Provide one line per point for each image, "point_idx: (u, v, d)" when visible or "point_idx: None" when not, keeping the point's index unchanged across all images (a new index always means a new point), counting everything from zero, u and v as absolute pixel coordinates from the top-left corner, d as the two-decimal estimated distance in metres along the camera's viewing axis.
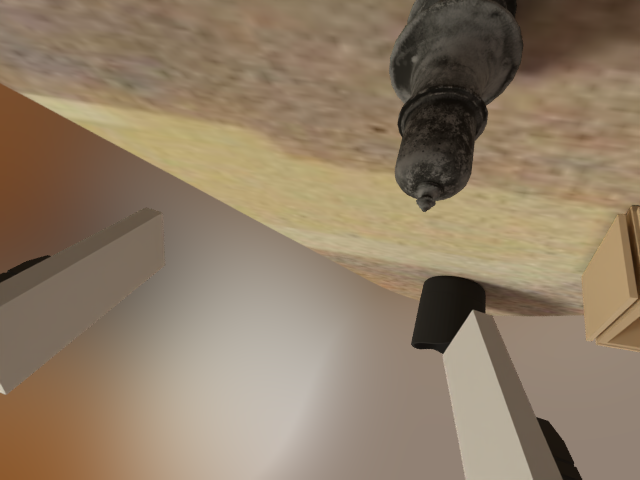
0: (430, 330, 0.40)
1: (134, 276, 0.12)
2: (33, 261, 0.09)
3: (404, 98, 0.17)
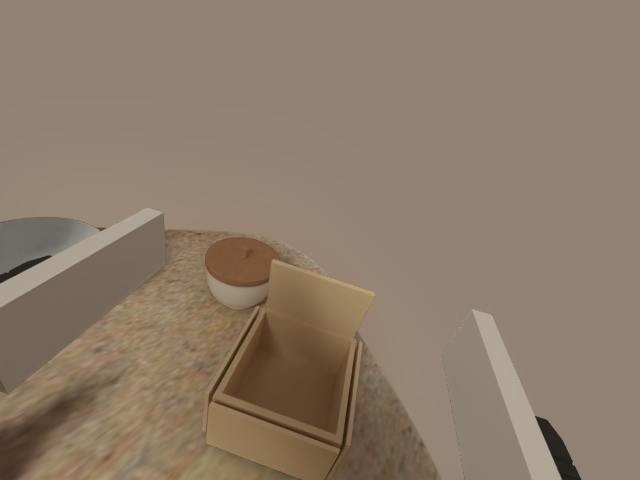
0: None
1: (135, 276, 0.12)
2: (35, 261, 0.09)
3: None
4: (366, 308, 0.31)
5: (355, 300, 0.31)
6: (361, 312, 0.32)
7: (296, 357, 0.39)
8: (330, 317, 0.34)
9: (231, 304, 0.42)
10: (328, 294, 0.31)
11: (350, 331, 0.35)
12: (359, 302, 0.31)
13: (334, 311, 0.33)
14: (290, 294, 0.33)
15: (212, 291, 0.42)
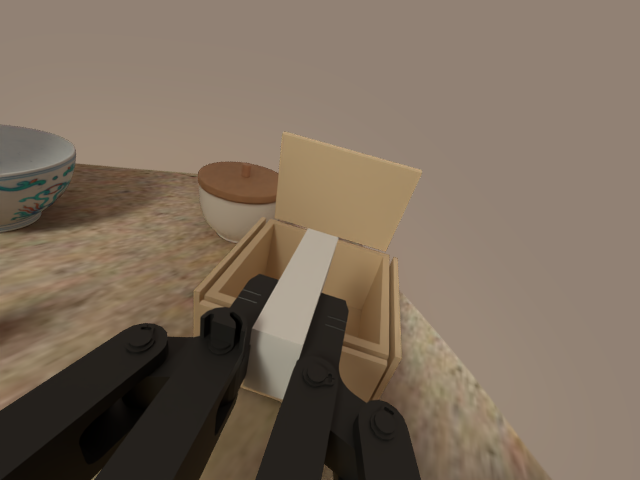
0: None
1: None
2: (254, 280, 0.11)
3: None
4: (408, 197, 0.24)
5: (394, 185, 0.23)
6: (400, 205, 0.24)
7: None
8: (357, 220, 0.26)
9: (230, 231, 0.35)
10: (357, 180, 0.24)
11: (382, 241, 0.27)
12: (399, 188, 0.23)
13: (363, 209, 0.26)
14: (306, 188, 0.26)
15: (207, 215, 0.35)
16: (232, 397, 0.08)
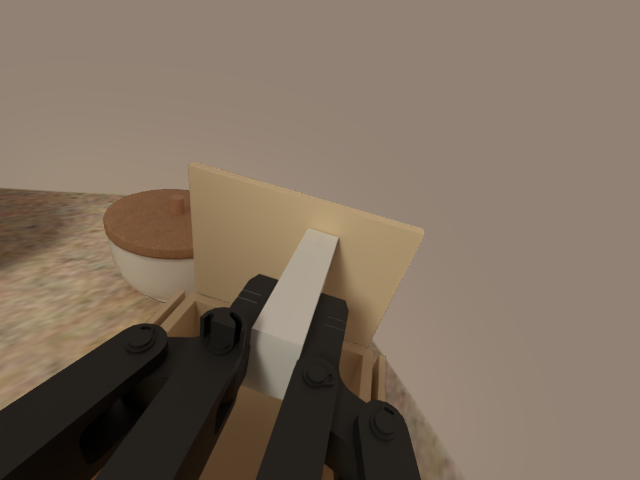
0: None
1: None
2: (254, 279, 0.11)
3: None
4: (401, 271, 0.14)
5: (377, 252, 0.14)
6: (388, 283, 0.15)
7: None
8: None
9: (153, 293, 0.25)
10: None
11: (362, 333, 0.17)
12: (385, 256, 0.14)
13: (330, 286, 0.16)
14: (237, 252, 0.16)
15: (119, 271, 0.24)
16: (232, 397, 0.08)
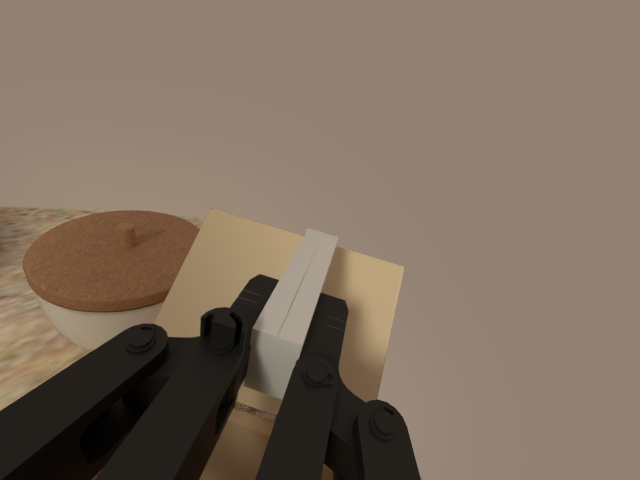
0: None
1: None
2: (254, 280, 0.11)
3: None
4: (391, 306, 0.15)
5: (368, 285, 0.15)
6: (382, 323, 0.15)
7: None
8: None
9: (92, 349, 0.19)
10: None
11: None
12: (376, 291, 0.15)
13: None
14: (223, 295, 0.15)
15: (49, 321, 0.19)
16: (232, 398, 0.08)
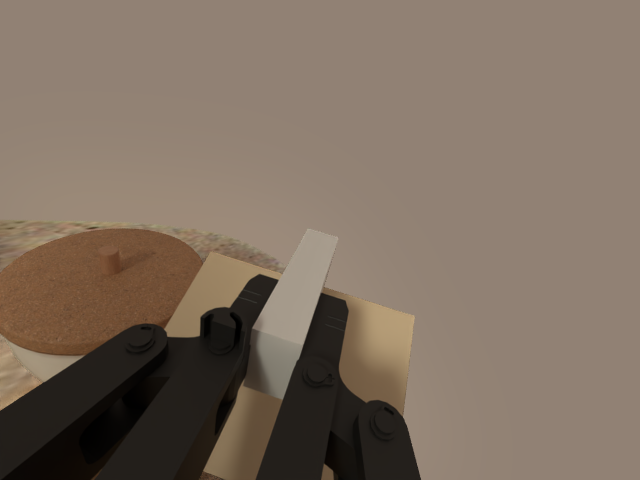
0: None
1: None
2: (254, 280, 0.11)
3: None
4: (405, 360, 0.14)
5: (378, 336, 0.14)
6: (395, 379, 0.13)
7: None
8: None
9: None
10: None
11: None
12: (387, 342, 0.14)
13: None
14: None
15: None
16: (232, 397, 0.08)
